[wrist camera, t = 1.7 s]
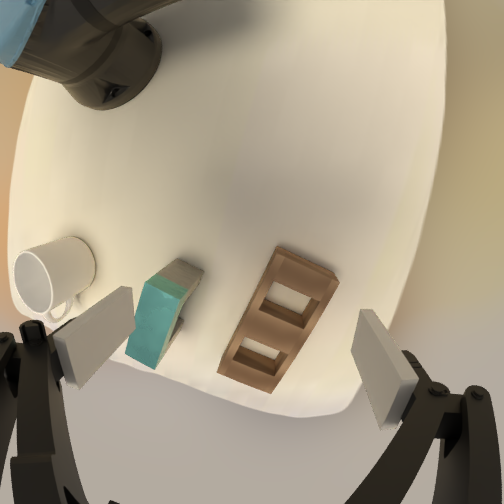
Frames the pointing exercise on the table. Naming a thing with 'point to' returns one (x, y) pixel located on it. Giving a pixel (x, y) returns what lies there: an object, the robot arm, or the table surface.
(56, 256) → the mug
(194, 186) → the table surface
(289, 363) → the brown wooden frame
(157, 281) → the tall teal block
